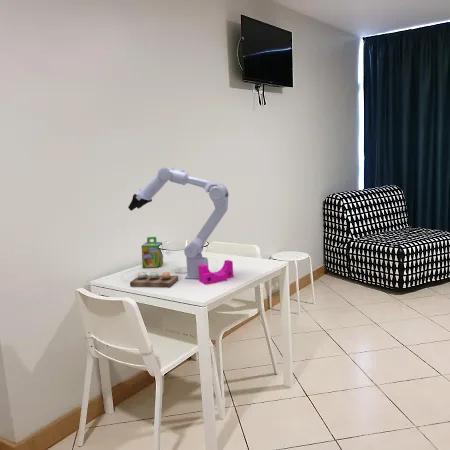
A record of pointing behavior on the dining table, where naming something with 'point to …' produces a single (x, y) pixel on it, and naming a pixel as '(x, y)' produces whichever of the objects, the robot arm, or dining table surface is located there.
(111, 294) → the dining table surface
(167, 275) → the terracotta button
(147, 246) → the chalk box
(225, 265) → the toy block
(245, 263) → the dining table surface
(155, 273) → the sage button
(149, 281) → the button panel
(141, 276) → the grey button
